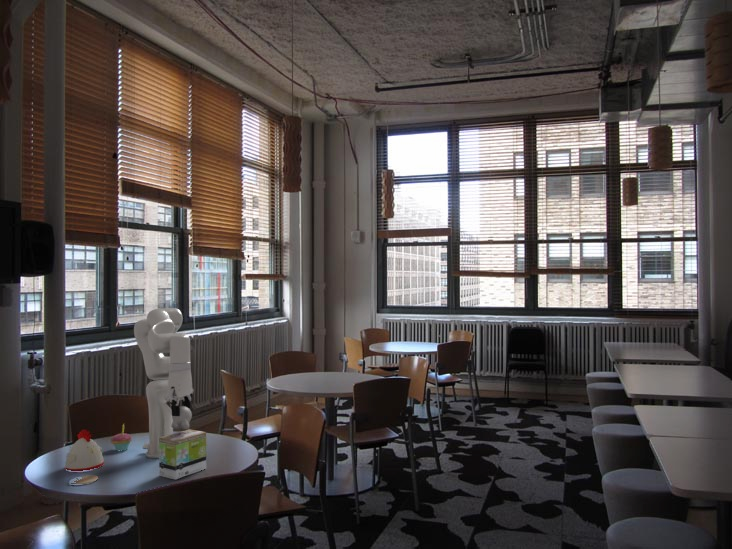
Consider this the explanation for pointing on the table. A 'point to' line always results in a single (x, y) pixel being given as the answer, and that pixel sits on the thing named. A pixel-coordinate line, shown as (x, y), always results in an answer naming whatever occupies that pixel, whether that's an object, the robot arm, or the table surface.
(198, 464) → the tea box
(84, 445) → the white cream cake
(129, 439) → the cupcake
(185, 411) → the chubby cartoon animal
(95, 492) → the table surface
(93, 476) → the cork coaster
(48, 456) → the table surface
